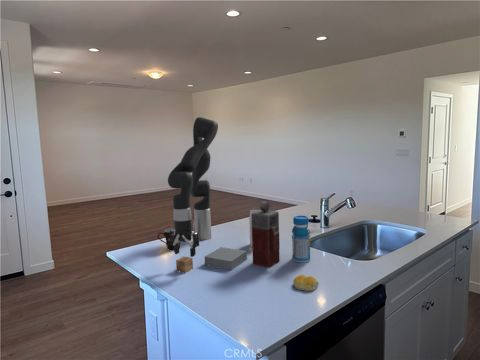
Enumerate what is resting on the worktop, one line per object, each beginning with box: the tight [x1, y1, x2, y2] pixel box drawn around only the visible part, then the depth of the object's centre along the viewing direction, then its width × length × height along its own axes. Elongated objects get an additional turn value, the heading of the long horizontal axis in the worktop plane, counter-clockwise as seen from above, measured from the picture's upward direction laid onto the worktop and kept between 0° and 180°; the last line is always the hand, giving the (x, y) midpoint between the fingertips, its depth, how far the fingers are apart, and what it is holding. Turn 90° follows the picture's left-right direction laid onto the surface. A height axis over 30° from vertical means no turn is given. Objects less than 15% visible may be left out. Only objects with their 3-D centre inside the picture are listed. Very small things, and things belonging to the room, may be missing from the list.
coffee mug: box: [157, 227, 181, 251], centre depth 172 cm, size 12×9×10 cm
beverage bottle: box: [291, 214, 312, 263], centre depth 149 cm, size 8×8×20 cm
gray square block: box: [204, 246, 248, 271], centre depth 150 cm, size 14×14×4 cm
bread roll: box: [293, 274, 319, 292], centre depth 123 cm, size 8×9×4 cm
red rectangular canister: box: [251, 201, 281, 269], centre depth 146 cm, size 9×11×28 cm
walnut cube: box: [175, 256, 194, 274], centre depth 143 cm, size 5×5×5 cm
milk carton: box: [249, 209, 261, 248], centre depth 171 cm, size 7×7×19 cm
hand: (184, 254), depth 142 cm, fingers open, 8 cm apart
